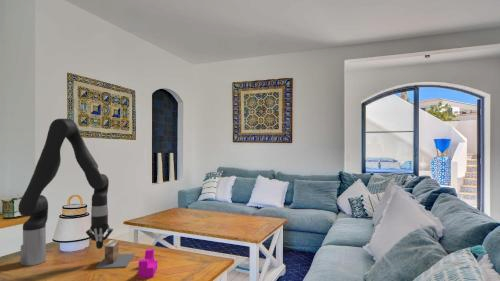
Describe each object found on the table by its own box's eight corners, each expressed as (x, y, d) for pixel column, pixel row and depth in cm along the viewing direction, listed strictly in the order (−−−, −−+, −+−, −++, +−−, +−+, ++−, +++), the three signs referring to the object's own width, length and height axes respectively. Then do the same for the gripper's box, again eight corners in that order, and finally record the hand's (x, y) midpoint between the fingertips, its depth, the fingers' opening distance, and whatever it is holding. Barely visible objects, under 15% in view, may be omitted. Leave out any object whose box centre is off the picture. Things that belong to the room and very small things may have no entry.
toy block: (153, 277, 132) (153, 261, 132) (138, 278, 131) (138, 261, 131) (159, 263, 147) (159, 248, 147) (146, 264, 146) (146, 249, 146)
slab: (104, 264, 144) (104, 245, 144) (110, 257, 152) (110, 240, 152) (113, 263, 145) (113, 245, 145) (118, 257, 153) (118, 239, 153)
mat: (95, 269, 140) (95, 267, 140) (107, 256, 156) (107, 254, 156) (125, 267, 142) (125, 266, 142) (134, 254, 158) (134, 253, 158)
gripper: (82, 216, 143) (82, 251, 143) (110, 215, 145) (110, 250, 145) (88, 212, 151) (89, 246, 151) (115, 211, 153) (115, 245, 153)
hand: (99, 248), depth 148 cm, fingers closed
